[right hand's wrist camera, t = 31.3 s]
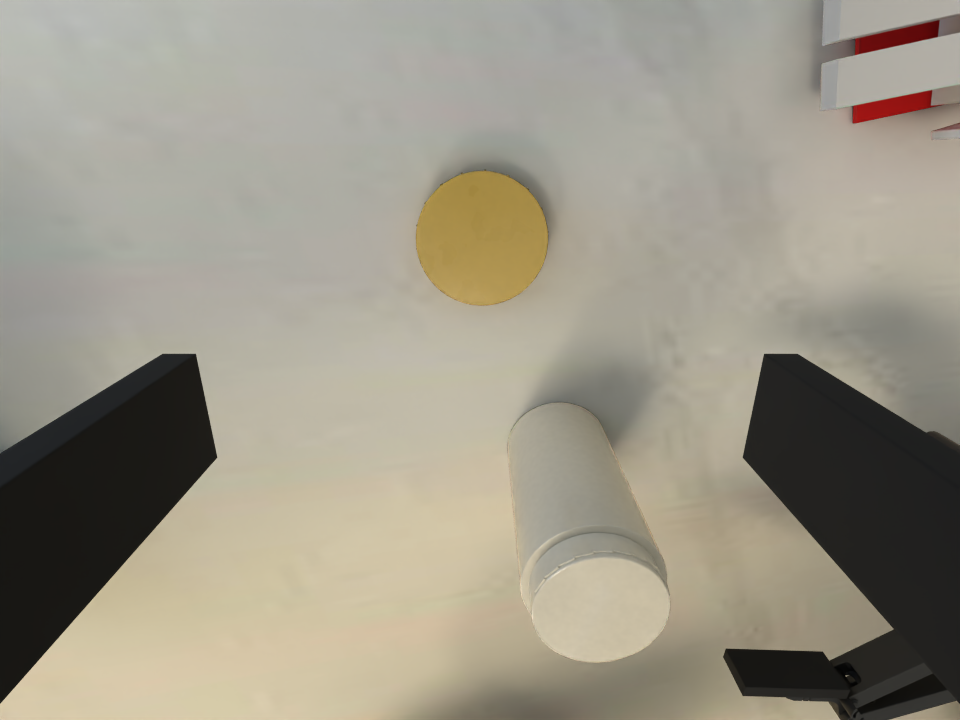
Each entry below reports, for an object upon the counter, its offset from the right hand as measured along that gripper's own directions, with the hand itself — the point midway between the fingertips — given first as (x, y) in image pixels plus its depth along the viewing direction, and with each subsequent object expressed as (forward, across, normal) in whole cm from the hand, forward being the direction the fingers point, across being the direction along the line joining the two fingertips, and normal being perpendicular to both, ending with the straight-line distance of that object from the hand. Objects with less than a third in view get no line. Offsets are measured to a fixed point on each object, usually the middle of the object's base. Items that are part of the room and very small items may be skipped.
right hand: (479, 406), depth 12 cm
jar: (+29, +7, -18) cm, 34 cm away
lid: (+27, 0, 0) cm, 27 cm away
